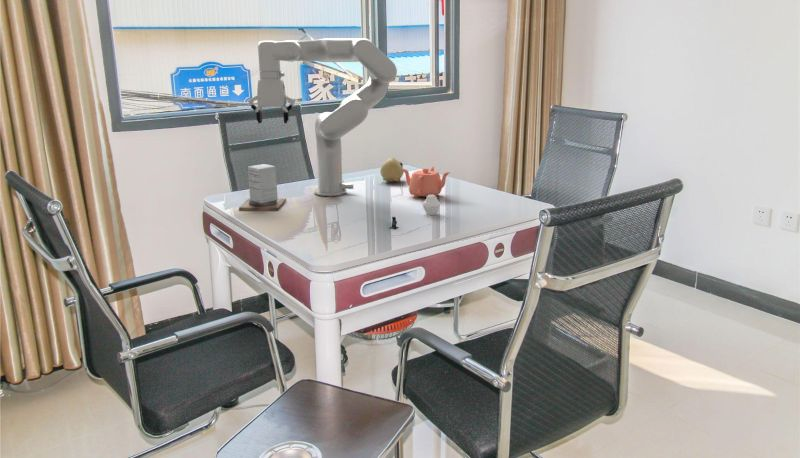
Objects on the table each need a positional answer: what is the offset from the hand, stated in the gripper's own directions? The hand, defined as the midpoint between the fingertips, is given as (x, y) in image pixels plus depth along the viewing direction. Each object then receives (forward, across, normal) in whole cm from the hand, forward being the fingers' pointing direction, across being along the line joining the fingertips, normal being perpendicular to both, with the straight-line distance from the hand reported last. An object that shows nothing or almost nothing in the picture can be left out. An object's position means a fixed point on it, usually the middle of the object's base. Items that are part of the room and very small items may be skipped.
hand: (272, 122), depth 234 cm
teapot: (+29, -58, -2) cm, 65 cm away
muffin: (+28, -59, +26) cm, 70 cm away
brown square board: (+28, +2, +15) cm, 32 cm away
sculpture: (+29, -46, +44) cm, 70 cm away
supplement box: (+26, +2, +15) cm, 31 cm away
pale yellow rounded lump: (+28, -44, -28) cm, 59 cm away
